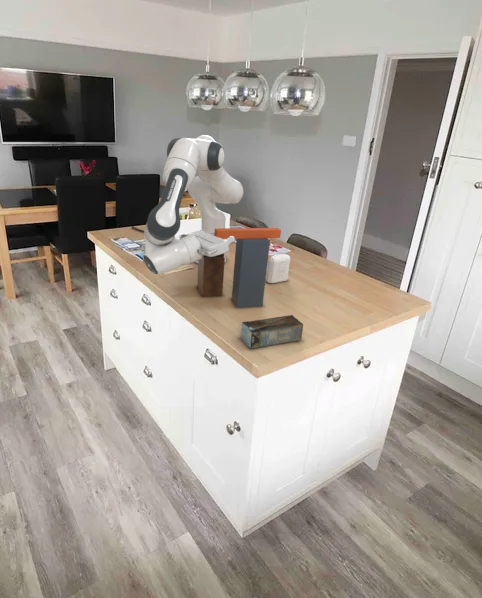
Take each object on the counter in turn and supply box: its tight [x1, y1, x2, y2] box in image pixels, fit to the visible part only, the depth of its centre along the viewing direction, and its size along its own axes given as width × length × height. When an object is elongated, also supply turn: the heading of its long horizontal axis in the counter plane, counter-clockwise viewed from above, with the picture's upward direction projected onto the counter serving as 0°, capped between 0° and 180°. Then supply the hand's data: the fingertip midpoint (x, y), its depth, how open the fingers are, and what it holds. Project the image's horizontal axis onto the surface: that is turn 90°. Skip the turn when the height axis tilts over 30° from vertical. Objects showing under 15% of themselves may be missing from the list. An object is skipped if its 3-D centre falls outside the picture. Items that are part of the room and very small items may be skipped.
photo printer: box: [265, 253, 291, 284], centre depth 181 cm, size 10×4×12 cm, turn 123°
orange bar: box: [214, 227, 282, 240], centre depth 149 cm, size 24×3×3 cm, turn 107°
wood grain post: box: [196, 253, 226, 298], centre depth 164 cm, size 8×10×19 cm
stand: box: [231, 238, 271, 309], centre depth 155 cm, size 10×8×26 cm
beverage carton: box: [240, 314, 304, 349], centre depth 135 cm, size 8×19×7 cm, turn 112°
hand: (226, 235), depth 146 cm, fingers open, 8 cm apart
